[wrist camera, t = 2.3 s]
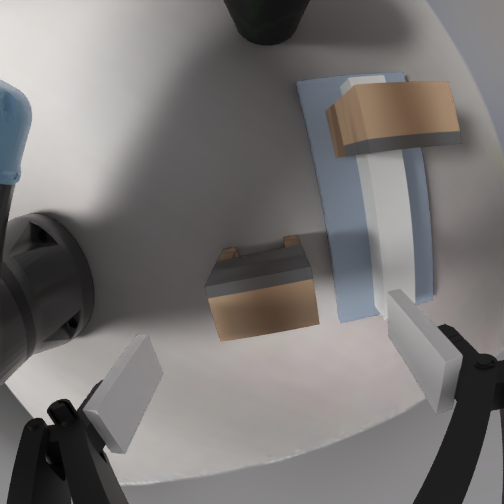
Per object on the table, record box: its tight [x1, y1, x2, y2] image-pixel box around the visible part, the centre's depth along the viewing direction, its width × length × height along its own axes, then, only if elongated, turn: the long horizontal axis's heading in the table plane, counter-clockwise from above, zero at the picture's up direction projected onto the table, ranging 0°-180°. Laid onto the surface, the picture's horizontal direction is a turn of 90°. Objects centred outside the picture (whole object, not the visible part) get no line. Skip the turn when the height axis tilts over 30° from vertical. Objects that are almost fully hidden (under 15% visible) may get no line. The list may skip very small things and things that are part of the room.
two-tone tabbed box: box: [204, 235, 320, 342], centre depth 24 cm, size 7×4×9 cm, turn 102°
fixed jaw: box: [325, 82, 462, 158], centre depth 19 cm, size 7×4×9 cm, turn 102°
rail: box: [296, 72, 433, 323], centre depth 24 cm, size 10×22×4 cm, turn 12°
